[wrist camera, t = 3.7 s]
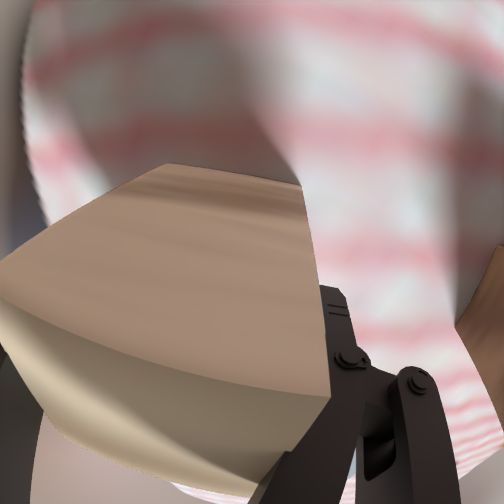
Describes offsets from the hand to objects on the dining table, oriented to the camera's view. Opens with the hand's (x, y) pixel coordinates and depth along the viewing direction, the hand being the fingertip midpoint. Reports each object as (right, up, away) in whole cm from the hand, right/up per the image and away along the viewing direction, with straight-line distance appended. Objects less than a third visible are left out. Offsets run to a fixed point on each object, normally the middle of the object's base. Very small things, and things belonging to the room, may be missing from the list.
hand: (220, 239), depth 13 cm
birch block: (0, 0, 0) cm, 0 cm away
